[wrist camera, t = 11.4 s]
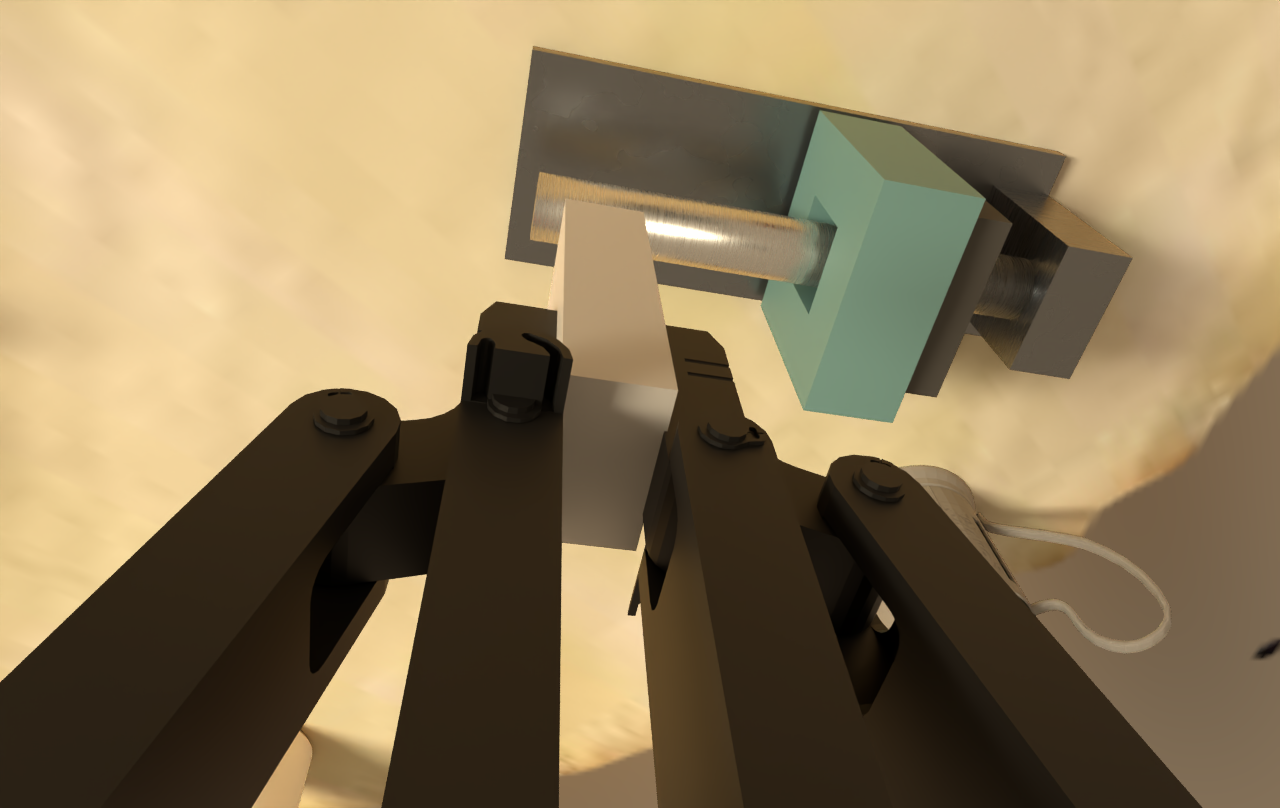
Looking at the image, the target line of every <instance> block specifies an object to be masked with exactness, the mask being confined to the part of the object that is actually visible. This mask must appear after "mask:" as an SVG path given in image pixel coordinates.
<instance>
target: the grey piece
mask: <svg viewBox="0 0 1280 808" xmlns="http://www.w3.org/2000/svg"><path fill="white" fill-rule="evenodd" d="M820 110H821V111H826V112H832V113H837V114H842V115H847V116H852V117H857V118H862V119H867V120H872V121H877V122H882V123H887V124H892V125H897V126H901V127H903V128H904V129H905V130H906V131H907V132H908V133H910V134H911V135H912V136H913V137H914V138H915V139H917V140H918V141H919V142H920V143H921V144H922V145H924V146H925V147H926V148H927V149H928V150H929V151H931V152H932V153H933V154H934V155H935V156H936V157H938V158H939V159H940V160H941V161H942V162H943V163H945V164H946V165H947V166H948V167H949V168H950V169H952V170H953V171H954V172H955V173H956V174H958V175H959V176H960V177H961V178H962V179H963V180H965V181H966V182H967V183H968V184H969V185H970V186H972V187H973V188H974V189H975V190H976V191H977V192H979V193H980V194H981V195H982V196H983V197H984V198H986V201H987V202H988V203H989V204H990V205H992V206H993V207H994V208H995V209H996V210H997V211H999V212H1000V213H1001V214H1002V215H1003V216H1004V217H1006V218H1007V219H1008V220H1009V221H1010V222H1011V223H1013V224H1012V226H1011V229H1010V231H1009V233H1008V236H1007V238H1006V240H1005V242H1004V245H1003V247H1002V249H1001V252H1000V254H999V256H998V258H997V261H996V263H995V265H994V267H993V270H992V272H991V274H990V277H989V279H988V281H987V283H986V286H985V288H984V290H983V293H982V295H981V297H980V299H979V302H978V304H977V306H976V309H975V311H974V313H973V315H972V318H971V320H970V322H969V324H968V327H967V329H966V331H965V334H971V335H978V336H982V337H983V338H984V339H985V341H986V342H987V343H988V344H989V345H990V347H991V348H992V349H993V350H994V351H995V353H996V354H997V355H998V356H999V357H1000V359H1001V360H1002V361H1003V362H1004V363H1005V365H1006V366H1007V367H1008V368H1009V369H1010V370H1016V371H1022V372H1029V373H1035V374H1041V375H1048V376H1054V377H1061V378H1067V379H1070V377H1071V375H1072V373H1073V371H1074V369H1075V367H1076V365H1077V364H1078V362H1079V360H1080V358H1081V356H1082V354H1083V352H1084V350H1085V348H1086V346H1087V344H1088V342H1089V341H1090V339H1091V337H1092V335H1093V333H1094V331H1095V329H1096V327H1097V325H1098V323H1099V321H1100V320H1101V318H1102V316H1103V314H1104V312H1105V310H1106V308H1107V306H1108V304H1109V302H1110V300H1111V298H1112V297H1113V295H1114V293H1115V291H1116V289H1117V287H1118V285H1119V283H1120V281H1121V279H1122V277H1123V275H1124V274H1125V272H1126V270H1127V268H1128V266H1129V264H1130V262H1131V260H1132V257H1131V256H1129V255H1128V254H1127V253H1125V252H1124V251H1123V250H1121V249H1120V248H1119V247H1117V246H1116V245H1114V244H1113V243H1112V242H1110V241H1109V240H1108V239H1106V238H1105V237H1104V236H1102V235H1101V234H1100V233H1098V232H1097V231H1095V230H1094V229H1093V228H1091V227H1090V226H1089V225H1087V224H1086V223H1085V222H1083V221H1082V220H1081V219H1079V218H1078V217H1076V216H1075V215H1074V214H1072V213H1071V212H1070V211H1068V210H1067V209H1066V208H1064V207H1063V206H1062V205H1060V204H1059V203H1057V202H1056V201H1055V200H1053V199H1052V198H1051V197H1049V196H1048V195H1049V193H1050V191H1051V189H1052V187H1053V184H1054V182H1055V180H1056V178H1057V175H1058V173H1059V171H1060V169H1061V167H1062V164H1063V162H1064V160H1065V158H1066V156H1065V155H1063V154H1062V153H1060V152H1058V151H1053V150H1048V149H1043V148H1038V147H1033V146H1028V145H1023V144H1018V143H1013V142H1008V141H1003V140H998V139H993V138H988V137H983V136H978V135H973V134H968V133H963V132H958V131H953V130H948V129H943V128H938V127H934V126H929V125H924V124H919V123H914V122H909V121H904V120H899V119H894V118H889V117H884V116H879V115H874V114H869V113H864V112H859V111H854V110H849V109H844V108H839V107H834V106H829V105H824V104H819V103H814V102H809V101H804V100H799V99H794V98H789V97H784V96H779V95H774V94H769V93H764V92H759V91H754V90H749V89H744V88H739V87H734V86H729V85H724V84H719V83H715V82H710V81H705V80H700V79H695V78H690V77H685V76H680V75H675V74H670V73H665V72H660V71H655V70H650V69H645V68H640V67H635V66H630V65H625V64H620V63H615V62H610V61H605V60H600V59H595V58H590V57H585V56H580V55H575V54H570V53H565V52H560V51H555V50H550V49H545V48H540V47H535V46H533V50H532V58H531V65H530V73H529V80H528V88H527V95H526V103H525V110H524V118H523V125H522V133H521V140H520V148H519V155H518V163H517V170H516V178H515V185H514V193H513V200H512V208H511V215H510V223H509V230H508V238H507V245H506V253H505V259H508V260H514V261H521V262H527V263H533V264H539V265H545V266H551V267H554V266H555V260H556V253H557V247H558V241H559V235H560V229H561V223H562V217H563V211H564V205H565V199H571V200H577V201H583V202H588V203H594V204H600V205H606V206H611V207H617V208H623V209H629V210H634V211H640V212H644V217H645V222H646V227H647V233H648V238H649V243H650V248H651V253H652V258H653V264H654V269H655V274H656V279H657V284H663V285H669V286H675V287H681V288H687V289H693V290H700V291H706V292H712V293H718V294H724V295H731V296H737V297H743V298H749V299H755V300H761V301H762V300H763V297H764V294H765V290H766V287H767V284H768V280H775V281H781V282H787V283H793V284H799V285H805V286H811V287H817V288H818V285H819V282H820V279H821V276H822V273H823V270H824V267H825V264H826V261H827V258H828V255H829V252H830V249H831V246H832V243H833V240H834V237H835V234H836V231H837V228H838V227H837V226H836V225H835V224H830V223H824V222H818V221H813V220H807V219H802V218H796V217H790V216H788V214H789V211H790V207H791V204H792V201H793V197H794V194H795V191H796V187H797V184H798V181H799V177H800V174H801V171H802V167H803V164H804V161H805V157H806V154H807V151H808V147H809V144H810V141H811V137H812V134H813V131H814V127H815V124H816V121H817V117H818V114H819V111H820Z"/></svg>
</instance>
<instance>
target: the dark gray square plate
mask: <svg viewBox="0 0 1280 808" xmlns="http://www.w3.org/2000/svg"><path fill="white" fill-rule="evenodd" d="M1012 224H1013V223H1011V222H1010V221H1009V220H1008V219H1007V218H1006V217H1004V216H1003V215H1002V214H1001V213H1000V212H999V211H997V210H996V209H995V208H994V207H993V206H992V205H990V204H989V203H988V202H987V201H986V200H985V202H984V205H983V207H982V209H981V212H980V214H979V217H978V219H977V221H976V224H975V226H974V229H973V231H972V233H971V236H970V238H969V241H968V243H967V245H966V248H965V250H964V253H963V255H962V257H961V260H960V262H959V265H958V267H957V269H956V272H955V274H954V277H953V279H952V281H951V284H950V286H949V289H948V291H947V293H946V296H945V298H944V301H943V303H942V305H941V308H940V310H939V313H938V315H937V317H936V320H935V322H934V325H933V327H932V329H931V332H930V334H929V337H928V339H927V341H926V344H925V346H924V349H923V351H922V354H921V356H920V358H919V361H918V363H917V366H916V368H915V370H914V373H913V375H912V378H911V380H910V382H909V385H908V387H907V390H906V392H905V393H911V394H917V395H924V396H931V397H937V395H938V393H939V391H940V388H941V386H942V384H943V381H944V379H945V377H946V375H947V372H948V370H949V368H950V365H951V363H952V361H953V359H954V356H955V354H956V352H957V350H958V347H959V345H960V343H961V340H962V338H963V336H964V334H965V331H966V329H967V327H968V324H969V322H970V320H971V318H972V315H973V313H974V311H975V309H976V306H977V304H978V302H979V299H980V297H981V295H982V293H983V290H984V288H985V286H986V283H987V281H988V279H989V277H990V274H991V272H992V270H993V267H994V265H995V263H996V261H997V258H998V256H999V254H1000V252H1001V249H1002V247H1003V245H1004V242H1005V240H1006V238H1007V236H1008V233H1009V231H1010V229H1011V226H1012Z"/></svg>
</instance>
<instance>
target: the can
mask: <svg viewBox="0 0 1280 808" xmlns="http://www.w3.org/2000/svg"><path fill="white" fill-rule="evenodd" d="M312 754H313V751H312V746H311V744H310V742H309V740H308V739H307V737H306V736H305V734H304V733H303V732H302V731H301V730H300V731H299V733H298V734H297V736H296V737H295V739H294V741H293V742H292V744H291V745H290V747H289V749H288V750H287V752H286V753H285V755H284V757H283V758H282V760H281V761H280V763H279V765H278V766H277V768H276V770H275V771H274V773H273V774H272V776H271V778H270V779H269V781H268V782H267V784H266V786H265V787H264V789H263V790H262V792H261V794H260V795H259V797H258V799H257V800H256V802H255V803H254V805H253V807H252V808H298V806H299V803H300V799H301V796H302V792H303V789H304V785H305V782H306V778H307V774H308V771H309V767H310V763H311V759H312Z"/></svg>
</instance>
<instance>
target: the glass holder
mask: <svg viewBox="0 0 1280 808" xmlns="http://www.w3.org/2000/svg"><path fill="white" fill-rule="evenodd" d="M900 469H902V470H904V471H906V472H907V473H908V474H909V475H911V476H912V477H913V478H914V479H915V480H916V481H917V482H919V483H920V484H921V486H922V487H923V488H924V489H925V490H926V491H927V492H928V494H929V495H930V496H931V497H932V498H933V499H934V500H935V502H936V503H937V504H938V505H939V506H940V507H941V508H942V510H943V511H944V512H945V513H946V514H947V515H948V517H949V518H950V519H951V520H952V521H953V522H954V523H955V525H956V526H957V527H958V528H959V529H960V530H961V531H962V533H963V534H964V535H965V536H966V537H967V538H968V539H969V541H970V542H971V543H972V544H973V545H974V546H975V547H976V549H977V550H978V551H979V552H980V553H981V554H982V556H983V557H984V558H985V559H986V560H987V561H988V562H989V564H990V565H991V566H992V567H993V568H994V569H995V570H996V572H997V573H998V574H999V575H1000V576H1001V577H1002V578H1003V580H1004V581H1005V582H1006V583H1007V584H1008V585H1009V586H1010V588H1011V589H1012V590H1013V591H1014V592H1015V593H1016V594H1017V596H1018V597H1019V598H1020V599H1021V600H1022V601H1023V603H1024V604H1025V605H1026V606H1027V607H1028V608H1029V609H1030V611H1031V612H1032V613H1033V614H1034V615H1035V616H1036V615H1038V614H1041V613H1044V612H1047V611H1054V610H1058V611H1062V612H1064V613H1065V614H1066V615H1067V616H1068V617H1069V618H1070V620H1071V621H1072V623H1073V624H1074V626H1075V627H1076V628H1077V629H1078V631H1079V632H1080V633H1081V634H1082V635H1083V636H1084V637H1085V638H1086V639H1088V640H1089V641H1091V642H1092V643H1093V644H1095V645H1096V646H1098V647H1101V648H1103V649H1106V650H1109V651H1113V652H1119V653H1134V652H1141V651H1144V650H1146V649H1149V648H1151V647H1153V646H1155V645H1156V644H1157V643H1159V642H1160V641H1161V640H1163V639H1164V638H1165V636H1166V635H1167V633H1168V631H1169V630H1170V628H1171V625H1172V621H1171V607H1170V605H1169V603H1168V602H1167V600H1166V598H1165V596H1164V594H1163V593H1162V591H1161V590H1160V588H1159V587H1158V586H1157V585H1156V584H1155V583H1154V582H1153V581H1152V580H1151V579H1150V577H1149V576H1148V575H1147V574H1146V573H1145V572H1144V571H1143V570H1142V569H1140V568H1139V567H1138V566H1136V565H1135V564H1134V563H1132V562H1131V561H1129V560H1128V559H1127V558H1126V557H1124V556H1122V555H1120V554H1119V553H1117V552H1115V551H1113V550H1111V549H1109V548H1107V547H1106V546H1104V545H1101V544H1099V543H1097V542H1094V541H1092V540H1090V539H1087V538H1084V537H1079V536H1075V535H1070V534H1064V533H1058V532H1052V531H1046V530H1040V529H1032V528H1024V527H1016V526H1009V525H1003V524H998V523H993V522H989V521H987V520H986V519H985V518H984V516H983V515H982V514H981V513H979V512H978V514H977V515H976V513H975V503H974V498H973V495H972V493H971V491H970V489H969V487H968V486H967V485H966V483H965V482H964V481H963V480H962V479H961V478H959V477H958V476H957V475H955V474H954V473H952V472H950V471H948V470H945V469H942V468H938V467H934V466H925V465H917V466H906V467H901V468H900ZM986 530H987V531H988V532H991V533H995V534H1000V535H1004V536H1010V537H1017V538H1024V539H1031V540H1040V541H1047V542H1052V543H1058V544H1063V545H1068V546H1072V547H1076V548H1080V549H1084V550H1087V551H1089V552H1092V553H1094V554H1097V555H1099V556H1101V557H1103V558H1105V559H1107V560H1109V561H1111V562H1113V563H1115V564H1117V565H1119V566H1121V567H1122V568H1124V569H1125V570H1126V571H1128V572H1129V573H1130V574H1132V575H1133V576H1134V577H1136V578H1137V579H1138V580H1140V581H1141V582H1142V584H1144V586H1145V587H1146V588H1147V589H1148V590H1149V591H1150V592H1151V593H1152V594H1153V595H1154V596H1155V598H1156V599H1157V601H1158V603H1159V604H1160V606H1161V608H1162V610H1163V615H1164V619H1163V621H1162V622H1161V624H1160V625H1159V627H1158V628H1157V629H1156V630H1154V631H1153V632H1151V633H1150V634H1149V635H1147V636H1145V637H1142V638H1140V639H1138V640H1129V641H1121V640H1114V639H1110V638H1107V637H1104V636H1102V635H1099V634H1097V633H1096V632H1094V631H1093V630H1091V629H1090V628H1089V627H1088V626H1087V625H1086V624H1084V622H1083V621H1082V620H1081V619H1080V617H1079V616H1078V615H1077V613H1076V612H1075V611H1074V610H1073V609H1072V607H1071V606H1070V605H1069V604H1067V603H1066V602H1064V601H1062V600H1058V599H1047V600H1042V601H1039V602H1036V603H1033V604H1030V603H1029V601H1028V600H1027V598H1026V596H1025V595H1024V593H1023V592H1022V590H1021V588H1020V586H1019V585H1018V583H1017V581H1016V580H1015V578H1014V576H1013V575H1012V573H1011V572H1010V570H1009V568H1008V567H1007V565H1006V563H1005V562H1004V560H1003V558H1002V557H1001V555H1000V553H999V552H998V550H997V548H996V547H995V545H994V543H993V542H992V540H991V538H990V537H989V535H988V533H987V532H986ZM876 614H877V615H878V617H879V618H880V620H881V621H882V623H883V624H884V625H885V626H886V627H887V628H888V629H889V628H890V627H891V626H892V624H893V622H894V620H895V619H894V617H893V615H892V613H891V612H890V610H889V609H888V607H887V606H886V604H885V603H884V602H883V601H882V603H881V605H880V607H879V609H878V611H877V613H876Z"/></svg>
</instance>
